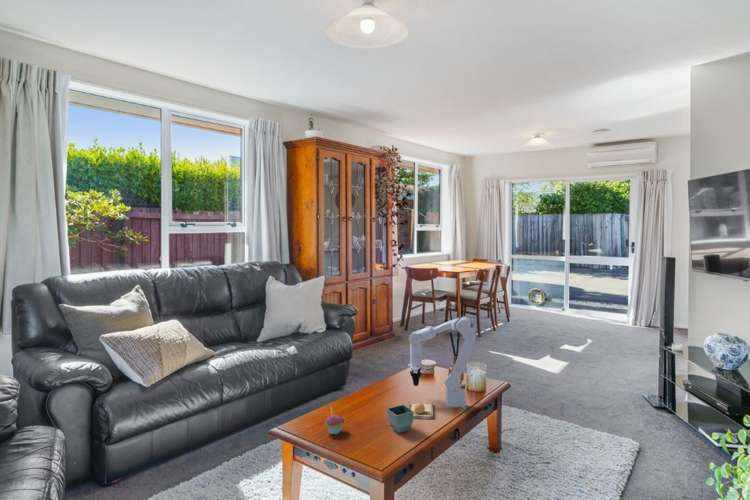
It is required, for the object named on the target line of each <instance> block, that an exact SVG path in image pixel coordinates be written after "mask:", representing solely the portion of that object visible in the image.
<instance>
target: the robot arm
mask: <svg viewBox="0 0 750 500" xmlns="http://www.w3.org/2000/svg"><path fill="white" fill-rule="evenodd" d="M449 330H452V331H457V332H458V333H459V334H460V335H461V336H462V337H463V339H464V341H463V344H462V346H461V348H460V350H459V351H460V352H459V354H458V356H457V358H456V361H455V363H454V366H453V369H452V371H451V373H449V375H448V377H447V378H446V380H445V382H444V385H445V405H446V406H447V407H450V408H462V410H463V411H466V405H467V400H466V389H465V388H462V387H461V385H460V383H461V382H462V374H463V371H464V369H465V366H466V363H467V361H468V358H469V356H470V354H471V351H472V349H473V346H474V344H475V342H476V332H475V325H474V322H473V321H472V319H471V318H470V317H469V316H461V317H457V318H453V319H450V320H448V321H446V322H444V323H442V324H439V325H436V326H431V325H430V326H429V325H426V326H424V328H421V329H417V330H415V331H412V332H411V334H409V336H408V342H409V363H408V364H407V367H409V368H410V369H411V370H410V371H409V374H410V376H411V379H412V385H413V386H414V387H419V385H420V384H419V383H420V378H421V376H422V372H421V370H422V369H423V364H422V363H423V361H422V359H423V357H422V355H423V354H422V342H425V341H428V340H430V339H433V338H436V336H437V335H436V334H440V333H442V332H445V331H449Z"/></svg>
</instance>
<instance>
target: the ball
mask: <svg viewBox="0 0 750 500" xmlns="http://www.w3.org/2000/svg"><path fill="white" fill-rule="evenodd" d="M414 404H415V406H414V410H415V411H414V412H415V413H416V415H423V413H424V412H426V411H425V407H424V405H423V404H424V403H422V402H417V403H414Z"/></svg>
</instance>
